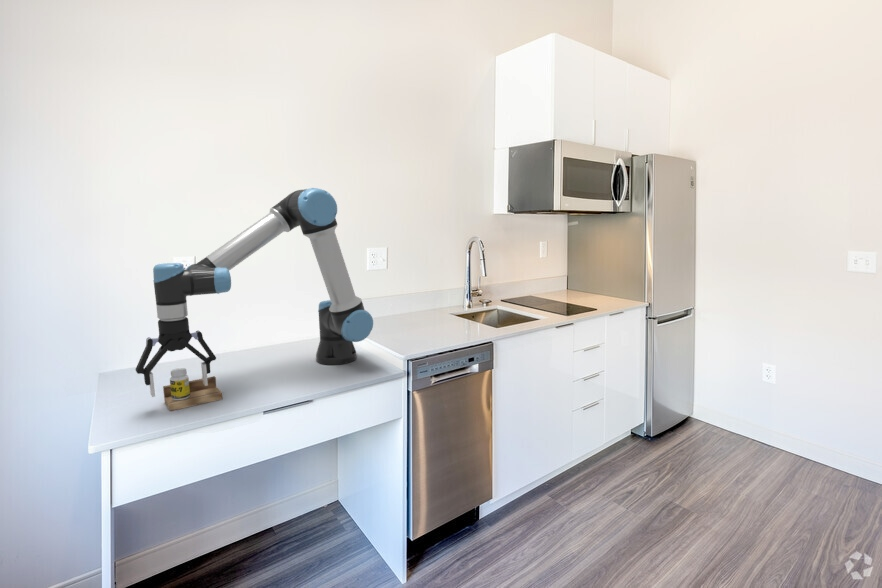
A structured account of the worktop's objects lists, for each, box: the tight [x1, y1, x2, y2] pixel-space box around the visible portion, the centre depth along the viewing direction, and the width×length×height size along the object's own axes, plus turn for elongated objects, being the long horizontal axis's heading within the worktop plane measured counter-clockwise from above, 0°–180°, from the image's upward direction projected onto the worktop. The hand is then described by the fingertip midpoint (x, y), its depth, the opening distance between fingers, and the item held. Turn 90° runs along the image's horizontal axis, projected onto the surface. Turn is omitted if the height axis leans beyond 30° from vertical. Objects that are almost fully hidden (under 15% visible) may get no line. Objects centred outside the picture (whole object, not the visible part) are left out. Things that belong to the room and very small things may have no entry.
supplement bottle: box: [169, 367, 190, 400], centre depth 137 cm, size 5×5×8 cm
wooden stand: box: [162, 376, 224, 412], centre depth 141 cm, size 14×8×5 cm, turn 129°
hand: (179, 389), depth 138 cm, fingers open, 13 cm apart
